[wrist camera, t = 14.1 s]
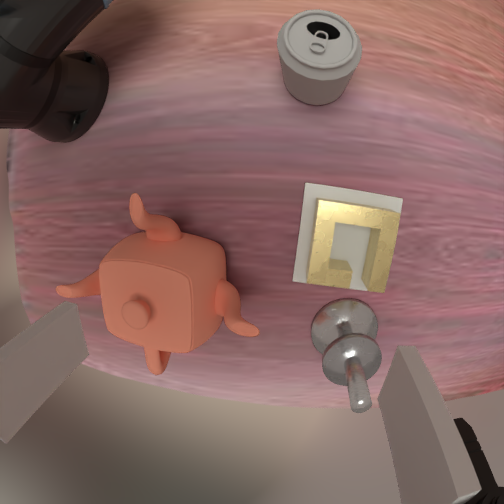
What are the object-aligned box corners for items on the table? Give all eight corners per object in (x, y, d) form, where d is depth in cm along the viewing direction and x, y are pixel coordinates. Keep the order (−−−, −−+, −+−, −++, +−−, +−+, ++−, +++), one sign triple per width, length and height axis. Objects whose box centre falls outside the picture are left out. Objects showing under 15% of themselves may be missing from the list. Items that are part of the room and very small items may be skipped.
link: (316, 197, 33) (319, 200, 29) (389, 209, 32) (400, 213, 28) (306, 271, 35) (306, 283, 31) (375, 280, 34) (383, 292, 30)
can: (352, 63, 28) (373, 19, 17) (336, 115, 31) (354, 87, 19) (293, 45, 29) (288, -6, 17) (275, 96, 31) (263, 59, 20)
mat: (305, 182, 33) (305, 182, 33) (401, 198, 32) (402, 198, 31) (292, 279, 36) (292, 281, 36) (382, 291, 35) (384, 292, 34)
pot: (187, 180, 35) (135, 184, 24) (273, 288, 37) (260, 339, 25) (104, 263, 41) (49, 292, 29) (176, 351, 42) (141, 402, 30)
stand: (317, 294, 36) (326, 364, 22) (383, 301, 35) (421, 369, 21) (305, 352, 39) (304, 432, 25) (366, 358, 38) (387, 434, 23)
